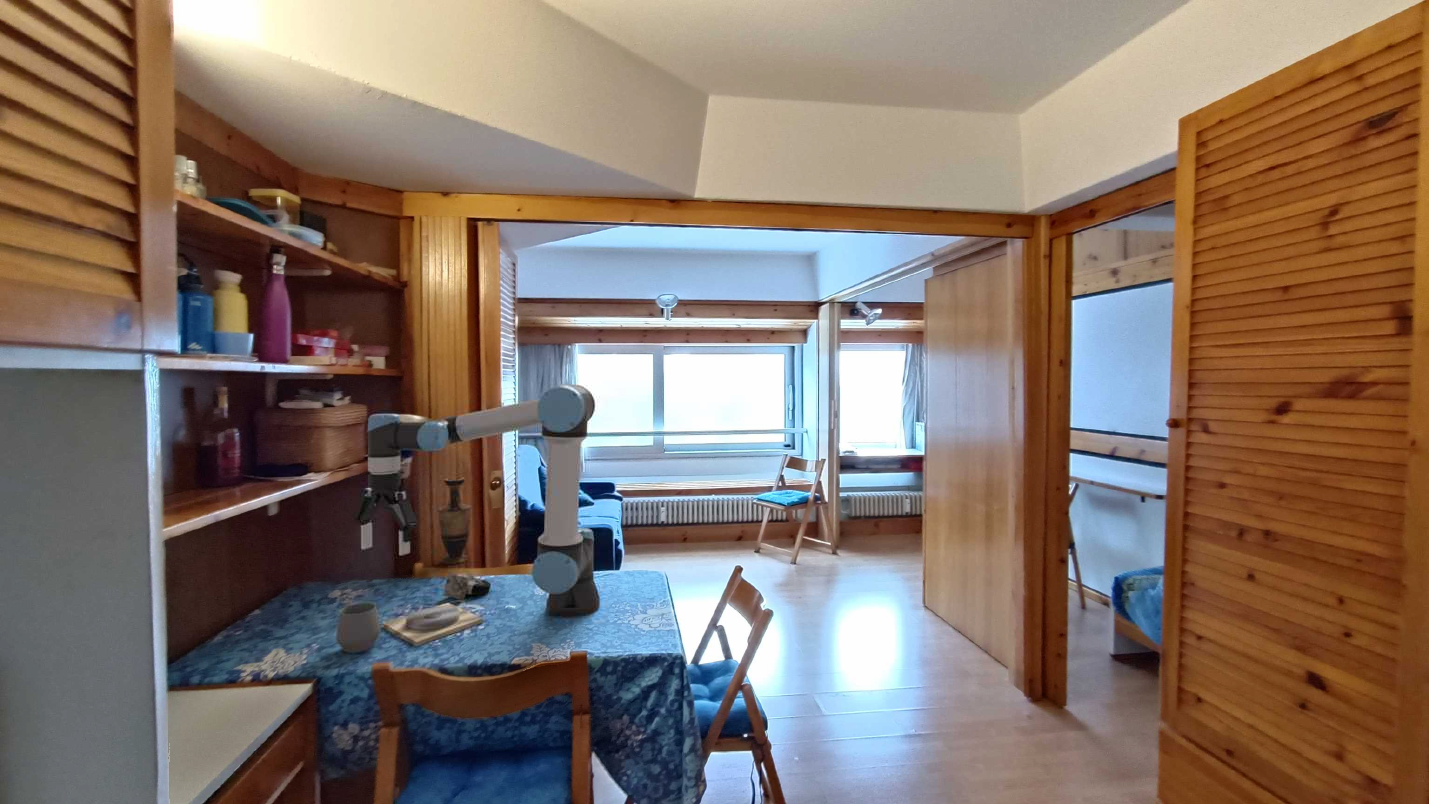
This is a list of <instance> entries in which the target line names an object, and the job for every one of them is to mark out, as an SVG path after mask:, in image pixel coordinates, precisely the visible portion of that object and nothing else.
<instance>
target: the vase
mask: <svg viewBox="0 0 1429 804" xmlns="http://www.w3.org/2000/svg"><path fill="white" fill-rule="evenodd" d="M451 478H452V477H448V478H444V479H443V481H444V484H445V485H446V486H447V487H448V489H449V499H448V503H447V504H446V505H442V506H443V507H442V506H440V507H438V509H437V511H438V513H437V514H438V522H439V531H440V538H441V541H442V545H443V546H444V548H445V550H446V552H447V554H448V555H447V556H444V557H443V558H442V563H443V564H445V565H458V564H462V563H464V562H465V563H466V562H467V561H468V559H469V556H468V555H466V554H463V553H464V551H465V548H466V547H467V546H466V545H467V544H468V540H469V535H470V530H471V529H470V525H471V509H472V507H471V505H470V504H466V503H463V502H462V501H461V495H460V493H461V491H460V490H461V486H462V485H463V484H464V482H465V480H466V478H465V477H463V478H460V479H457V480H450V479H451ZM462 554H463V555H462Z"/></svg>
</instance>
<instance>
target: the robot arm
mask: <svg viewBox="0 0 1429 804" xmlns="http://www.w3.org/2000/svg"><path fill="white" fill-rule="evenodd" d="M595 409H596V401H595V398H594V396H593V394H592V393H591V392H590V390H589V389H587V388H586V387H584V386H582V385H579V384H558V385H555V386H553V387H551V388H549V389H547V390H545V392H543V394H542V395H541V396H540V398H538V399H537V398H536V399H533V400H528V401H522V402H519V403H512V404H509V405H504V406H499V407H494V408H488V409H483V410H479V411H473V412H469V413H464V414H459V415H454V416H449V417H443V418H439V419H433V420H426V421H402V419H401V416H400V415H399V414H398V413H376V414H375V413H374V414H371V415H370V416H369V417H368V421H367V431H366V432H367V441H368V442H367V444H368V445H367V446H368V447H367V448H368V452H367V453H368V454H367V455H368V457H367V471H368V472H369V473H368V479H367V480H368V483H367V484H368V487H366V488H362V490H361V497H360V500H359V502H358V505H357V507H356V508H357V509H356V511H355V513H354V516H353V522H357V523H358V525H359V535H360V541H361V542H360V546H361V547H360V549H361V550H366V549H369V548H373V523H372V521H371V520H372V518H374V515H375V514H376V513H377V511H378V510H379V508H381V507H382V508H385V509H386V508H387V510H389V511H390V513H392V515H393V517H394V519H395V521H396V522H397V523H398V525H399V527H400V529H399V530H398V552H399V553H398V554H399V556H405V555H407V554H410V553H411V541H412V529H414V528H417V527H418V525H419V523H418V520H417V518H416V515H415V512H414V511H413V508H412V504H411V503H410V498H409V492H408V491H407V490H404V491H399V487H401V484H402V483H401V481H402V476H401V474H402V473H401V472H400V470H401V451H427V452H433V451H442V450H443V449H445V447H446V446H448V445H453V444H456V443H461V442H465V441H471V440H474V439H475V440H476V439H480V438H488V437H492V436H495V435H496V436H497V435H501V434H506V433H510V432H511V433H512V432H515V431H522V430H526V429H531V428H536V427H541V437H542V439H544V440H545V442H546V443H547V444H546V445H547V446H546V470H545V471H546V475H545V502H544V503H545V504H544V527H543V528H544V531H543V533H542V534H541V535H540V536H538V538H537V556H536V558H535V560H534V561H533V563H532V568H531V577H532V580H533V582H534V584H535V585H536V586H537V587H538V588H539V589H540V590H541V591H543V592H545V593H546V594H548V596H547V599H546V601H545V602H546V605H545V610H546V612H547V613H548V615H551V616H554V617H558V618H576V617H577V618H578V617H582V616H587V615H590V614H592V613H594V612H596V611H597V610H598V609H599V608H600V606H601V600H600V595H599V591H598V589H597V585H596V583H595V580H594V541H595V538H594V531H593V530H592V529H590V528H587V527H578V525H579V506H580V505H579V504H580V503H579V502H580V500H579V499H580V475H581V474H580V473H581V450H582V447H581V445H582V443H583V441H585V439H587V437H588V423H589V421H590V420H591V419H592V417H593V415H594V413H595V411H596V410H595Z"/></svg>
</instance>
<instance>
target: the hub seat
mask: <svg viewBox="0 0 1429 804" xmlns="http://www.w3.org/2000/svg"><path fill="white" fill-rule="evenodd" d="M483 621H484V620H483V617H481V616H478V615H476V614H474V613H472V612H469V611H467V610H464V609H463V608H460V607H458V606H456V605H454V604H451V603H449V602H447V603H443V604H440V605H437V606H430V607H427V608H422V609H419V610H416V611H415V612H413V613H411V614H407V615H405V616H401V617H398V618H394V619H393V620H388V621H385V622H383V623H382V628H383V629H384V630H386V631H388V632H390V633H392V634H394V635H395V636H397V637H399V638H401V639H402V640H404V641H405V642H407V643H409V644H411V645H413V646H415V647H419V646H422V645H425V644H426V643H429V642H432V641H435V640H437V639H440V638H443V637H446V636H449V635H452V634H455V633H457V632H461V631H464V630H465V629H469V628H472V627H474V626H475V627H476V626H478V625H480V624H482V623H483Z"/></svg>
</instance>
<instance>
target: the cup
mask: <svg viewBox="0 0 1429 804" xmlns="http://www.w3.org/2000/svg"><path fill="white" fill-rule="evenodd" d="M381 628H382V627H381V622H380V618H379V613H378V609H377V604H376V603H373V602H360V603H359V602H358V603H354V604H353V603H352V604H351V605H348V606H345V607H343V608H342V609H341V610H340V611H339V617H338V623H337V629H336V634H335V635H336V642H337V644H338V645H339V646H340V647H341V649H342V650H343V651H344V652H345V653H348V654H357V653H363V652H365V651H368V650H370V649H372V648H373V646H375V644H376V642H377V641H378V638H379V636H380V634H381V631H382V629H381Z"/></svg>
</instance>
